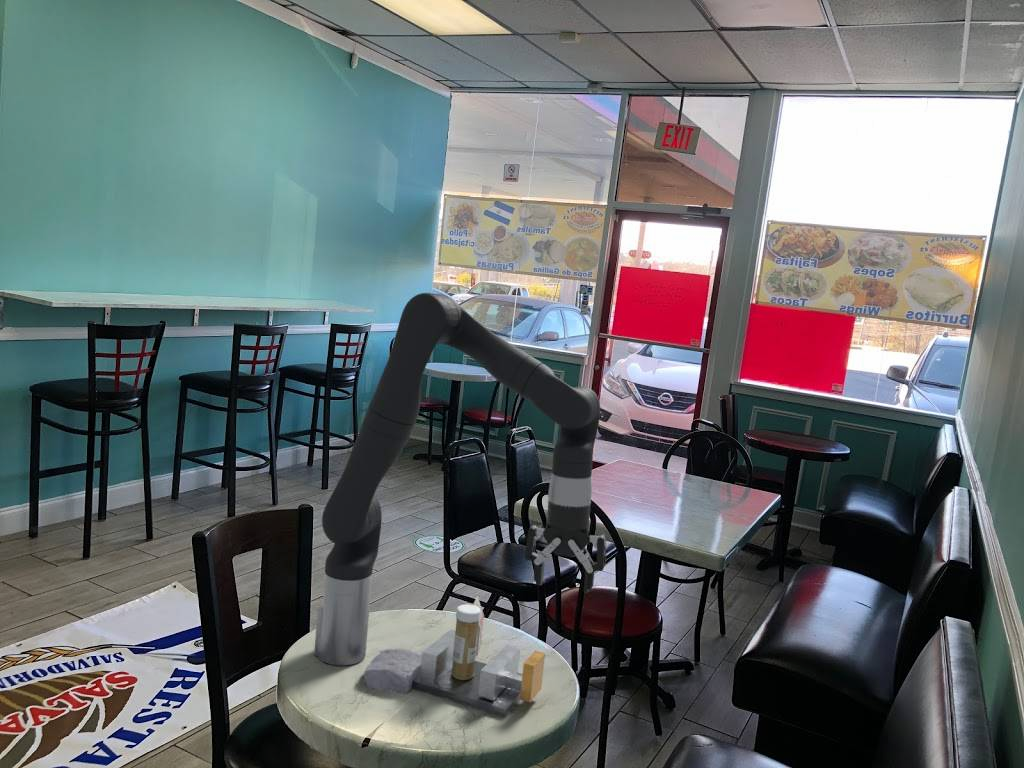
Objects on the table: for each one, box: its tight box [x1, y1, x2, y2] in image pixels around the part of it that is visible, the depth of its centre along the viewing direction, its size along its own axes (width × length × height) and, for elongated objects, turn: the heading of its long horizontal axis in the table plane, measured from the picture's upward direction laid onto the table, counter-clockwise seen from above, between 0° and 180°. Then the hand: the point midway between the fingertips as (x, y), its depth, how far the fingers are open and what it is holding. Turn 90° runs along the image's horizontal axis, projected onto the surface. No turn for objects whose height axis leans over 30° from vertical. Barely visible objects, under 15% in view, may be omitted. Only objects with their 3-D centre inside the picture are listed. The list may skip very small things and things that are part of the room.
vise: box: [411, 629, 523, 718], centre depth 154 cm, size 19×14×7 cm
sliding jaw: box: [478, 645, 546, 703], centre depth 151 cm, size 9×12×7 cm
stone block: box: [363, 647, 422, 694], centre depth 156 cm, size 12×5×10 cm
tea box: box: [472, 596, 485, 656], centre depth 171 cm, size 4×7×10 cm, turn 175°
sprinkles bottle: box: [451, 603, 481, 680], centre depth 155 cm, size 5×5×14 cm
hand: (562, 587), depth 146 cm, fingers open, 8 cm apart
